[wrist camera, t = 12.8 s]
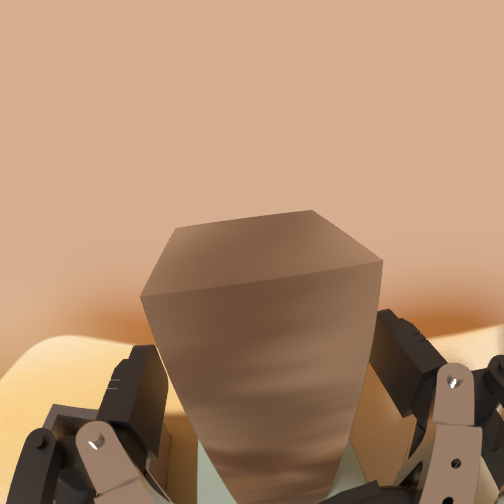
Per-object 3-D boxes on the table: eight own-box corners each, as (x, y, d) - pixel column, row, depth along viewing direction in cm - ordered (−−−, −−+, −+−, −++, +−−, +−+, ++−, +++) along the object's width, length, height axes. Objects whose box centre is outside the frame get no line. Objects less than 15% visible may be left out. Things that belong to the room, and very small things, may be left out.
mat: (331, 402, 18) (332, 397, 18) (383, 535, 7) (386, 534, 7) (200, 421, 18) (199, 417, 18) (201, 566, 7) (199, 565, 6)
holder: (171, 435, 16) (157, 413, 15) (163, 546, 8) (142, 539, 7) (71, 425, 16) (53, 403, 15) (43, 512, 7) (16, 495, 6)
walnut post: (307, 446, 14) (312, 209, 9) (324, 501, 10) (383, 260, 5) (238, 457, 14) (175, 228, 9) (245, 515, 10) (140, 295, 5)
